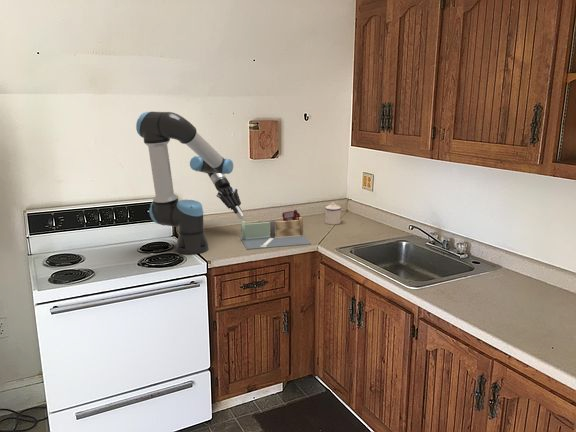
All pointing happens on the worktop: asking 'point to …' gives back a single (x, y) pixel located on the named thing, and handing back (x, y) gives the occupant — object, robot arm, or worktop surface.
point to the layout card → (273, 242)
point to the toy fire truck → (290, 215)
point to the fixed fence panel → (286, 228)
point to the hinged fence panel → (255, 229)
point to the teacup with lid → (333, 214)
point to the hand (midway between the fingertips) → (241, 217)
